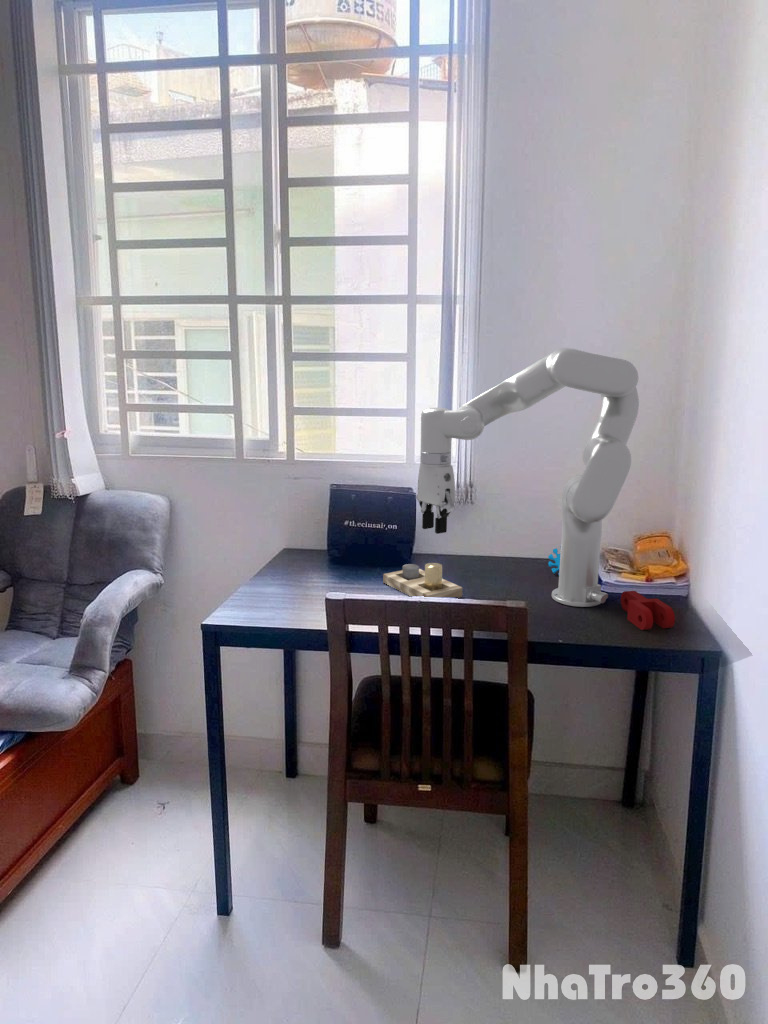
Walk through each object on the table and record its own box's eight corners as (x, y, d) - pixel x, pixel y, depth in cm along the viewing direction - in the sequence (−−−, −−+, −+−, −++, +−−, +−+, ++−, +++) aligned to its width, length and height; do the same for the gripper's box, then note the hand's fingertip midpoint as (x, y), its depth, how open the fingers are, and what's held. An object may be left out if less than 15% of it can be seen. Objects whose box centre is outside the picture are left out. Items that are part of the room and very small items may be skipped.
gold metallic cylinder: (445, 596, 188) (445, 566, 186) (431, 599, 185) (431, 569, 184) (434, 591, 191) (435, 561, 190) (421, 594, 189) (421, 564, 187)
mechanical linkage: (673, 631, 166) (675, 610, 165) (644, 633, 165) (646, 612, 164) (637, 606, 182) (639, 587, 180) (611, 608, 180) (612, 589, 179)
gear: (542, 569, 204) (554, 539, 208) (544, 579, 209) (555, 550, 213) (581, 580, 200) (593, 550, 204) (582, 590, 204) (593, 560, 208)
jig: (462, 596, 187) (462, 578, 186) (427, 605, 181) (427, 585, 180) (416, 575, 204) (416, 558, 202) (383, 582, 198) (383, 565, 197)
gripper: (469, 462, 175) (467, 535, 180) (427, 453, 189) (426, 521, 193) (444, 465, 171) (443, 540, 176) (403, 455, 185) (402, 525, 189)
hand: (434, 529), depth 184 cm, fingers open, 4 cm apart
